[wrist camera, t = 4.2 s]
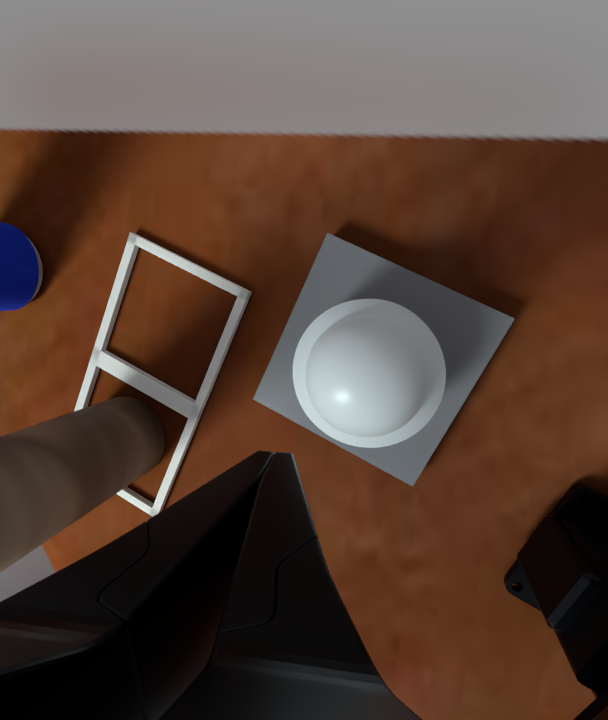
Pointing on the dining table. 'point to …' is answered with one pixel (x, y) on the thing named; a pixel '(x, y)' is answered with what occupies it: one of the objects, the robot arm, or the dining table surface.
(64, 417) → the brown lumpy cylinder
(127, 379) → the white rectangular frame
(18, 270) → the beverage can
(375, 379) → the dome
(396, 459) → the dome base
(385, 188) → the dining table surface
